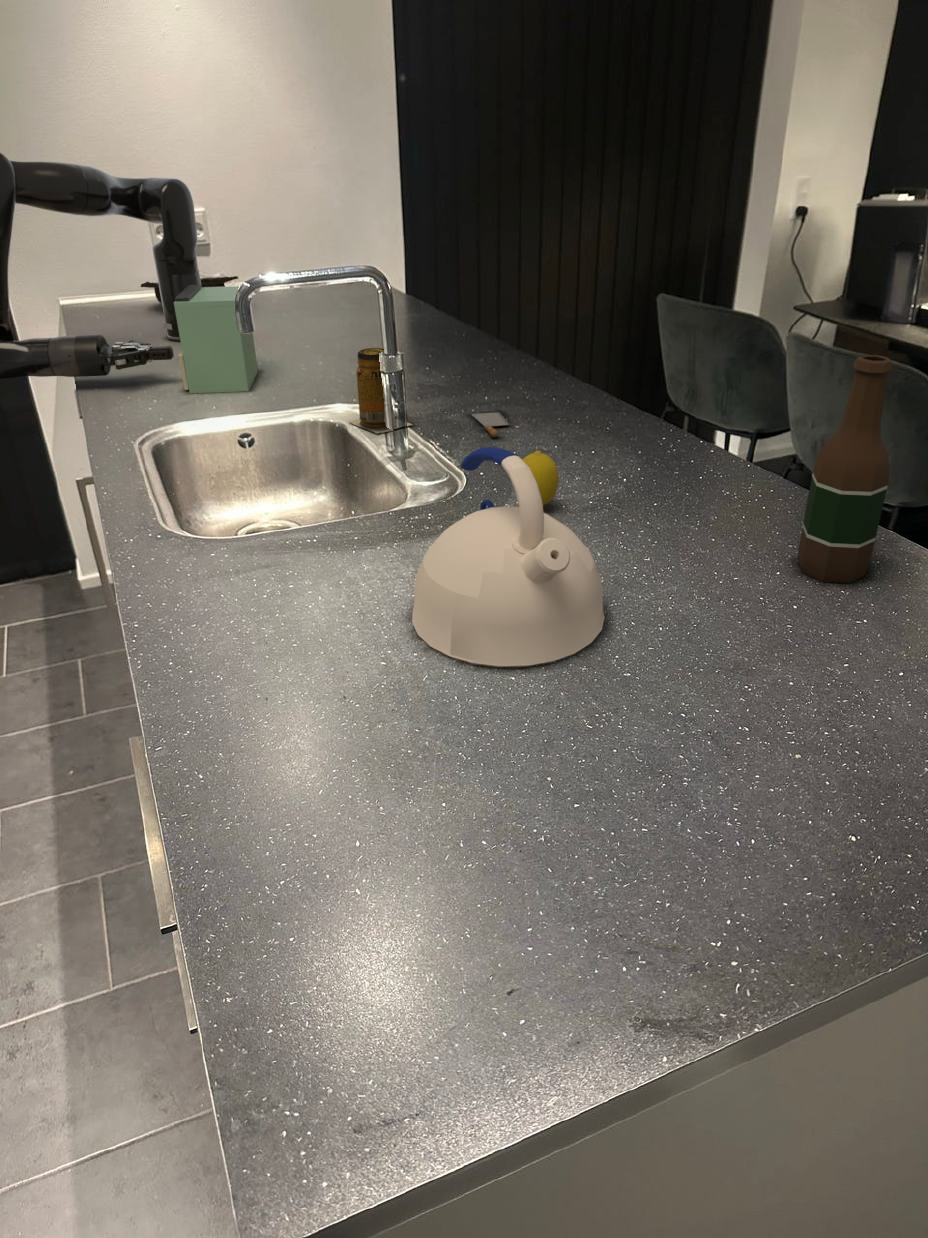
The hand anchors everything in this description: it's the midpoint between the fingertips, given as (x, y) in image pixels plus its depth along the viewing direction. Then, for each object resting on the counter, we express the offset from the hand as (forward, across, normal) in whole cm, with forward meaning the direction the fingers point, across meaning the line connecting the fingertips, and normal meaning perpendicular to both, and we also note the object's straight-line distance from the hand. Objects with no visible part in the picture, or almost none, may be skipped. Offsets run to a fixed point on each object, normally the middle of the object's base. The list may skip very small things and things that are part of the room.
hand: (172, 352), depth 172 cm
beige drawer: (+8, 0, +6) cm, 10 cm away
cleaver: (+58, -33, +6) cm, 67 cm away
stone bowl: (-10, +73, +6) cm, 74 cm away
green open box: (+9, 0, +6) cm, 11 cm away
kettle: (+53, -96, +6) cm, 110 cm away
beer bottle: (+91, -89, +6) cm, 128 cm away
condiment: (+40, -30, +6) cm, 50 cm away
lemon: (+60, -68, +6) cm, 91 cm away
